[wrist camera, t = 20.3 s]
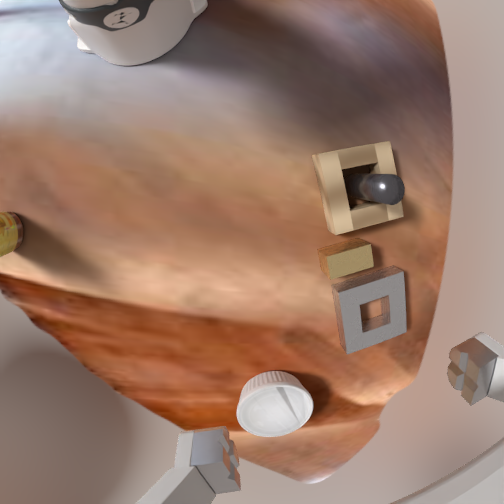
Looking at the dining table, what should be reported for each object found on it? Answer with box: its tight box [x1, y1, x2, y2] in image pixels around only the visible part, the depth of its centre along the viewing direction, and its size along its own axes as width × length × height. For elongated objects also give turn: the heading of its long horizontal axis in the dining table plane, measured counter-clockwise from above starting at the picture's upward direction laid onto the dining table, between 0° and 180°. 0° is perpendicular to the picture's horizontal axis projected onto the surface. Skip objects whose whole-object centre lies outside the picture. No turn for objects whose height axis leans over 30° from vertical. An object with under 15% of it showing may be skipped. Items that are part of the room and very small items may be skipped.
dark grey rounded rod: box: [344, 174, 404, 205], centre depth 33 cm, size 3×3×10 cm
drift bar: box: [317, 238, 374, 280], centre depth 38 cm, size 3×6×4 cm, turn 104°
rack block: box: [312, 141, 404, 235], centre depth 37 cm, size 10×10×3 cm
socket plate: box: [331, 265, 406, 354], centre depth 41 cm, size 10×10×3 cm
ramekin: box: [237, 371, 313, 437], centre depth 43 cm, size 11×11×5 cm
